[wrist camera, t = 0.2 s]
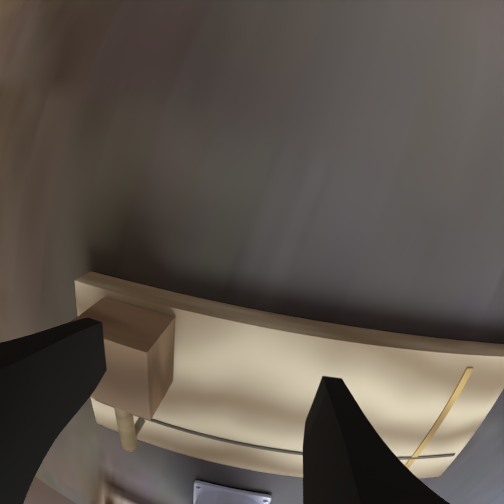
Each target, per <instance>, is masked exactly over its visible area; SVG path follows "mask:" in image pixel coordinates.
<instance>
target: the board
mask: <svg viewBox="0 0 504 504" xmlns="http://www.w3.org/2000/svg"><path fill="white" fill-rule="evenodd" d="M75 292H76V304H77V315H78V316H79V315H80V314H82V313H83V312H84V311H86V310H87V309H88V308H90V307H91V306H92V305H94V304H95V303H96V302H98V301H99V300H100V299H102V298H103V297H105V298H109V299H112V300H115V301H119V302H122V303H126V304H129V305H133V306H137V307H140V308H144V309H148V310H151V311H155V312H159V313H163V314H167V315H171V316H175V337H174V370H173V382H172V384H171V386H170V387H169V389H168V391H167V393H166V394H165V396H164V398H163V400H162V401H161V403H160V405H159V407H158V408H157V410H156V412H155V414H154V415H153V417H152V419H151V420H148V419H145V418H143V419H144V420H145V423H144V425H143V427H142V428H141V430H140V432H139V433H138V435H137V437H136V439H138V440H141V441H144V442H147V443H150V444H153V445H156V446H159V447H162V448H165V449H168V450H171V451H174V452H178V453H181V454H185V455H188V456H192V457H195V458H199V459H203V460H207V461H211V462H215V463H219V464H224V465H228V466H233V467H238V468H243V469H248V470H254V471H260V472H266V473H272V474H280V475H287V476H296V477H303V439H304V429H305V421H306V418H307V416H308V413H309V410H310V408H311V405H312V403H313V400H314V398H315V395H316V392H317V390H318V387H319V384H320V381H321V379H322V376H329V377H336V378H342V379H343V381H344V383H345V384H346V386H347V387H348V389H349V391H350V392H351V394H352V395H353V397H354V399H355V400H356V402H357V403H358V405H359V407H360V408H361V410H362V411H363V413H364V414H365V416H366V417H367V419H368V420H369V422H370V423H371V425H372V426H373V428H374V429H375V430H376V432H377V433H378V434H379V436H380V437H381V438H382V440H383V441H384V442H385V443H386V445H387V446H388V447H389V448H390V450H391V451H392V452H393V453H394V454H395V455H396V457H397V458H398V459H399V460H400V461H401V462H402V463H403V464H404V465H405V466H406V467H407V468H408V469H409V470H410V471H411V472H412V473H413V474H414V475H415V476H416V477H417V478H429V477H438V476H440V475H441V474H442V473H443V472H444V471H445V470H446V468H447V467H448V466H449V465H450V464H451V462H452V461H453V460H454V459H455V458H456V456H457V455H458V454H459V453H460V451H461V450H462V449H463V448H464V446H465V445H466V444H467V442H468V441H469V440H470V438H471V437H472V436H473V434H474V433H475V431H476V430H477V429H478V427H479V426H480V424H481V423H482V421H483V420H484V418H485V417H486V415H487V414H488V412H489V411H490V409H491V408H492V406H493V405H494V403H495V402H496V400H497V398H498V397H499V395H500V393H501V392H502V390H503V388H504V344H496V343H484V342H473V341H462V340H452V339H443V338H434V337H425V336H417V335H409V334H401V333H394V332H386V331H379V330H372V329H365V328H359V327H352V326H346V325H339V324H333V323H327V322H321V321H315V320H309V319H304V318H298V317H292V316H287V315H281V314H276V313H271V312H266V311H260V310H255V309H250V308H245V307H240V306H235V305H231V304H226V303H221V302H216V301H212V300H207V299H202V298H198V297H193V296H189V295H185V294H180V293H176V292H172V291H167V290H163V289H159V288H155V287H151V286H146V285H142V284H138V283H134V282H130V281H126V280H123V279H119V278H115V277H111V276H107V275H103V274H100V273H96V272H92V271H90V272H89V273H87V274H85V275H83V276H82V277H80V278H78V279H76V280H75ZM91 401H92V405H93V410H94V414H95V418H96V422H97V423H98V424H101V425H103V426H105V427H108V428H110V429H113V430H115V431H118V426H117V421H116V415H115V410H114V407H113V406H110V405H108V404H105V403H103V402H101V401H98V400H96V399H94V398H91ZM139 417H140V416H137V415H134V414H133V418H134V424H135V423H136V421H137V420H138V418H139ZM141 418H142V417H141ZM118 432H119V431H118Z"/></svg>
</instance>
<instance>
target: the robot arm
mask: <svg viewBox="0 0 504 504" xmlns="http://www.w3.org/2000/svg"><path fill="white" fill-rule="evenodd" d="M106 370H107V366H106V358H105V348H104V336H103V323H102V322H100V321H97V320H94V319H91V318H89V317H88V318H83V319H79V320H76V321H72V322H69V323H66V324H63V325H60V326H57V327H54V328H51V329H48V330H45V331H41V332H38V333H35V334H32V335H28V336H25V337H21V338H17V339H14V340H10V341H6V342H2V343H0V504H23V503H24V500H25V497H26V494H27V492H28V490H29V487H30V485H31V483H32V481H33V478H34V476H35V474H36V472H37V470H38V469H39V467H40V465H41V463H42V461H43V459H44V457H45V456H46V454H47V452H48V451H49V449H50V447H51V446H52V444H53V442H54V441H55V439H56V438H57V436H58V435H59V434H60V432H61V431H62V430H63V429H64V427H65V426H66V425H67V424H68V422H69V421H70V420H71V419H72V418H73V416H74V415H75V414H76V413H77V412H78V410H79V409H80V408H81V407H82V406H83V404H84V403H85V402H86V401H87V399H88V398H89V397H90V396H91V394H92V393H93V392H94V390H95V389H96V387H97V386H98V384H99V382H100V381H101V379H102V377H103V376H104V374H105V372H106ZM271 498H272V496H271V495H268V494H261V493H255V492H249V491H244V490H238V489H233V488H229V487H224V486H219V485H215V484H211V483H207V482H203V481H198V480H197V481H195V482H194V493H193V504H269V503H270V501H271ZM303 504H449V503H448V502H447V501H445V500H444V499H442V498H441V497H440V496H438V495H437V494H436V493H435V492H433V491H432V490H431V489H430V488H428V487H427V486H426V485H425V484H424V483H423V482H421V481H420V480H419V479H418V478H417V477H416V476H415V475H414V474H413V473H412V472H411V471H410V470H409V469H408V468H407V467H406V466H405V465H404V464H403V463H402V462H401V461H400V460H399V459H398V458H397V457H396V455H395V454H394V453H393V452H392V451H391V450H390V448H389V447H388V446H387V445H386V443H385V442H384V441H383V440H382V438H381V437H380V436H379V434H378V433H377V432H376V430H375V429H374V428H373V426H372V425H371V423H370V422H369V420H368V419H367V417H366V416H365V414H364V413H363V411H362V410H361V408H360V407H359V405H358V403H357V402H356V400H355V399H354V397H353V395H352V394H351V392H350V391H349V389H348V387H347V386H346V384H345V383H344V381H343V379H342V378H336V377H329V376H322V379H321V381H320V384H319V387H318V390H317V392H316V395H315V398H314V400H313V403H312V405H311V408H310V410H309V413H308V416H307V418H306V421H305V429H304V439H303Z"/></svg>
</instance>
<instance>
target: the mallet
mask: <svg viewBox="0 0 504 504" xmlns="http://www.w3.org/2000/svg"><path fill="white" fill-rule="evenodd" d="M88 317H89V318H91V319H94V320H97V321H100V322H102V323H103V336H104V348H105V358H106V366H107V370H106V372H105V374H104V376H103V377H102V379H101V381H100V382H99V384H98V386H97V387H96V389H95V390H94V392H93V393H92V394H91V396H90V397H91V398H94V399H96V400H98V401H101V402H103V403H105V404H108V405H110V406H113V407H114V410H115V415H116V421H117V426H118V431H119V436H120V440H121V445H122V448H123V449H124V450H126V451H129V452H132V451H135V450H136V449H137V447H138V445H137V439H136V437H137V435H138V433H139V432H140V430H141V428H142V427H143V425H144V423H145V420H144V419H143V418H145V419H148V420H151V419H152V417H153V415H154V414H155V412H156V410H157V408H158V407H159V405H160V403H161V401H162V400H163V398H164V396H165V394H166V393H167V391H168V389H169V387H170V386H171V384H172V382H173V370H174V337H175V316H171V315H167V314H163V313H159V312H155V311H151V310H148V309H144V308H140V307H137V306H133V305H129V304H126V303H122V302H119V301H115V300H112V299H109V298H105V297H103V298H102V299H100V300H99V301H98V302H96V303H95V304H94V305H92V306H91V307H90V308H88V309H87V310H86V311H84V312H83V313H82V314H80V315H79V316H78V317H76V318H75V319H74V320H73V321H76V320H79V319H83V318H88ZM71 322H72V321H71ZM133 414H134V415H137V416H140V417H139V418H138V420H137V421H136V423H135V424H134V418H133ZM141 417H142V418H141Z"/></svg>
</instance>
